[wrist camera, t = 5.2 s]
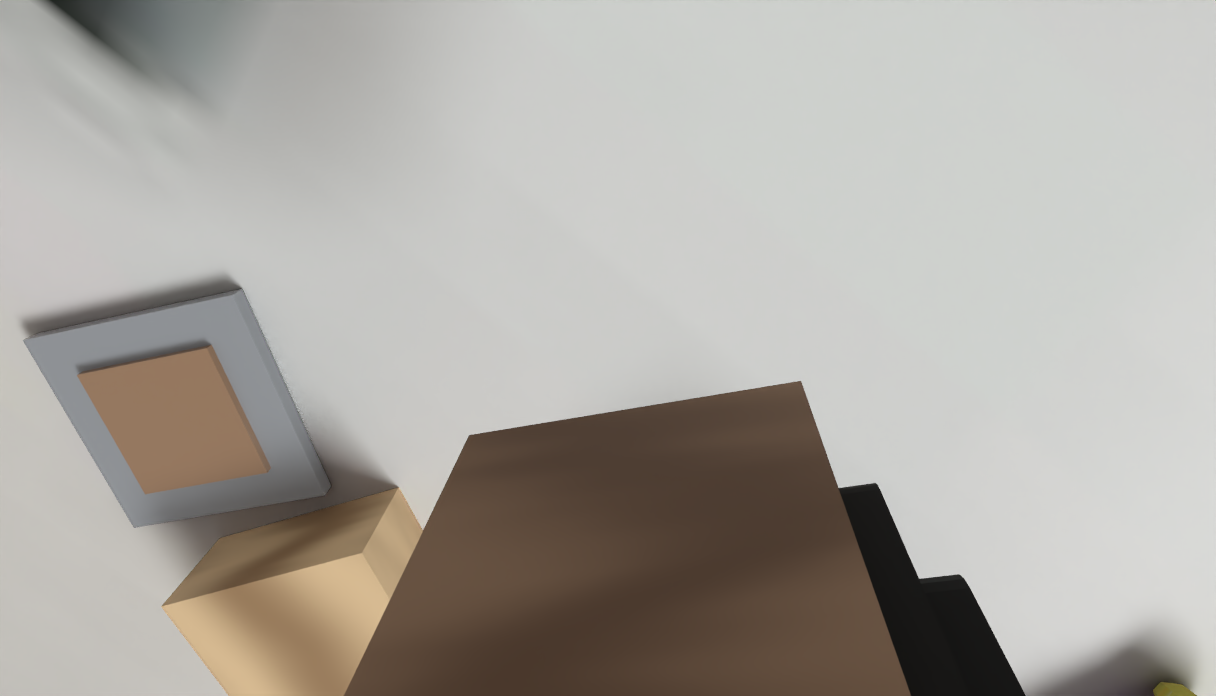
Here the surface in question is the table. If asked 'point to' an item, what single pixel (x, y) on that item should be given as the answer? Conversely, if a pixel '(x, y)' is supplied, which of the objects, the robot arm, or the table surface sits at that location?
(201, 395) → the swatch tile
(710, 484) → the walnut block
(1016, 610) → the table surface
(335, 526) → the oak base
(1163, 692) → the hammer
